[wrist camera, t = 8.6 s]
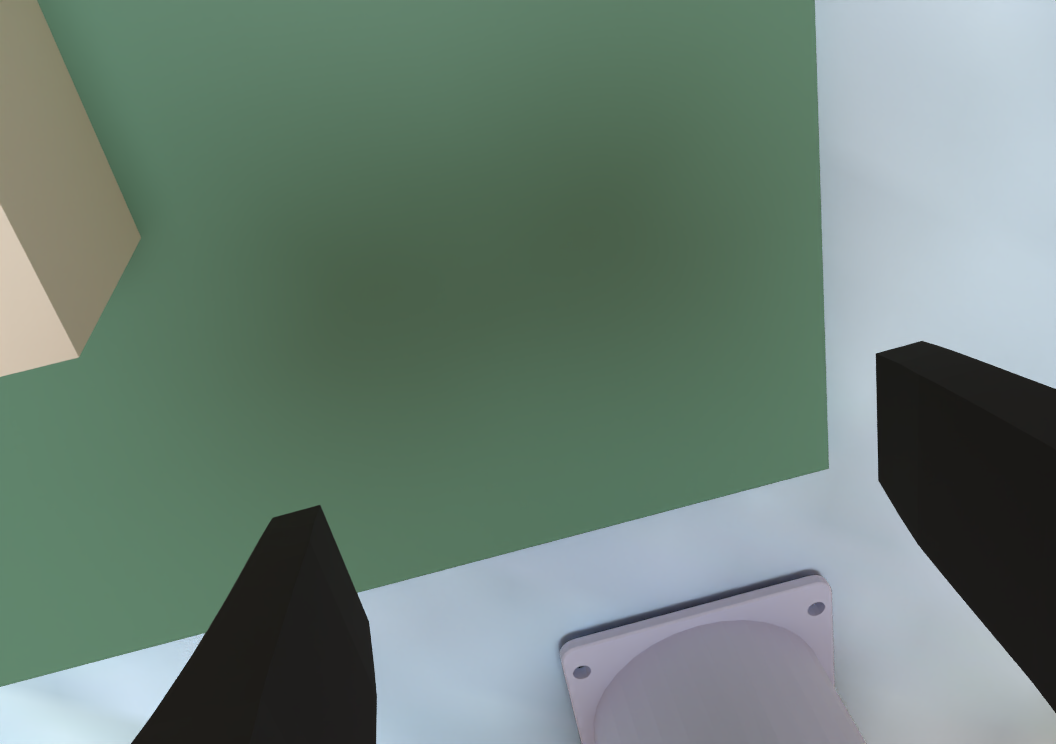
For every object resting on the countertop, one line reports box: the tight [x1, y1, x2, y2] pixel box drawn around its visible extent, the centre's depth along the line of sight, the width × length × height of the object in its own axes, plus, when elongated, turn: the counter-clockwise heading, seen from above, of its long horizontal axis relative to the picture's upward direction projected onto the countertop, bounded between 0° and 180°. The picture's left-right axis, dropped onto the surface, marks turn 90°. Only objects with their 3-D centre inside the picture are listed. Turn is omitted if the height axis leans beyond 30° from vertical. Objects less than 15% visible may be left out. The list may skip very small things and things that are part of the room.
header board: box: [0, 0, 829, 687], centre depth 18 cm, size 20×24×3 cm
